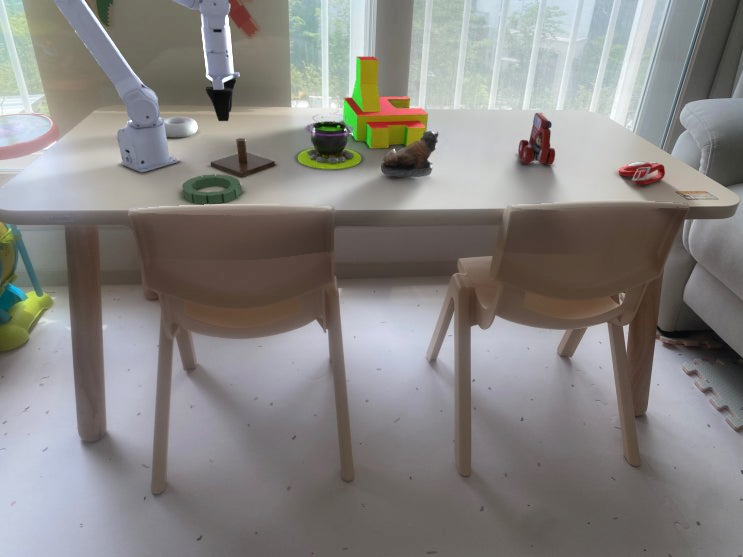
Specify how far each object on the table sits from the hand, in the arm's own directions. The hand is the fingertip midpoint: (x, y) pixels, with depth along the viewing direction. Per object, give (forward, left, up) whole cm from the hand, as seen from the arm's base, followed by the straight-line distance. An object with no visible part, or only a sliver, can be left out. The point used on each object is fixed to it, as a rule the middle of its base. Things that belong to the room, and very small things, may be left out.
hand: (224, 116), depth 119 cm
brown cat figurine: (+18, -38, -10) cm, 43 cm away
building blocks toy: (+41, -16, -10) cm, 45 cm away
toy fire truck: (+48, -56, -10) cm, 74 cm away
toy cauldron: (+15, -18, -10) cm, 25 cm away
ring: (-17, -14, -9) cm, 24 cm away
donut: (+3, +23, -10) cm, 25 cm away
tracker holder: (+52, -79, -10) cm, 95 cm away
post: (-2, -7, -9) cm, 12 cm away
